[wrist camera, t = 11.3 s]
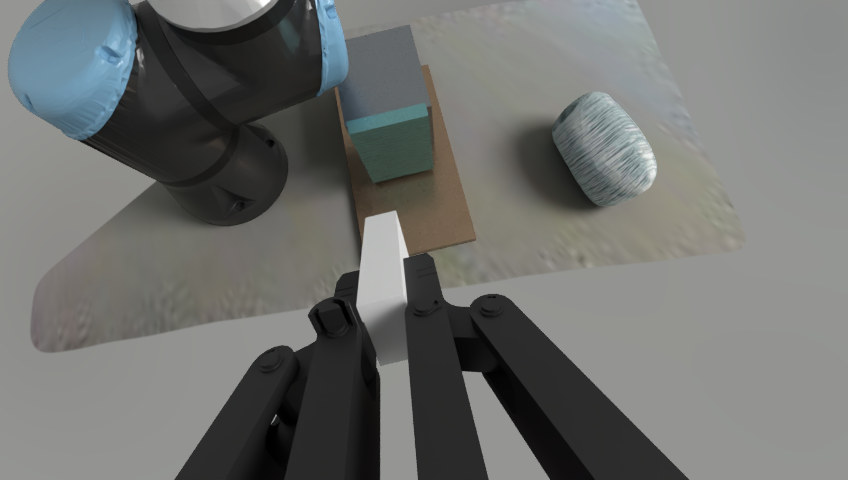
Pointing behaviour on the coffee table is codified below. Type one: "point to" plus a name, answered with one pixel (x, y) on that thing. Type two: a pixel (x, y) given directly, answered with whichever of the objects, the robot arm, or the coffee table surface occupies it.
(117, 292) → the coffee table surface
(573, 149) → the spool
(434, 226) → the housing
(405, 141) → the block
